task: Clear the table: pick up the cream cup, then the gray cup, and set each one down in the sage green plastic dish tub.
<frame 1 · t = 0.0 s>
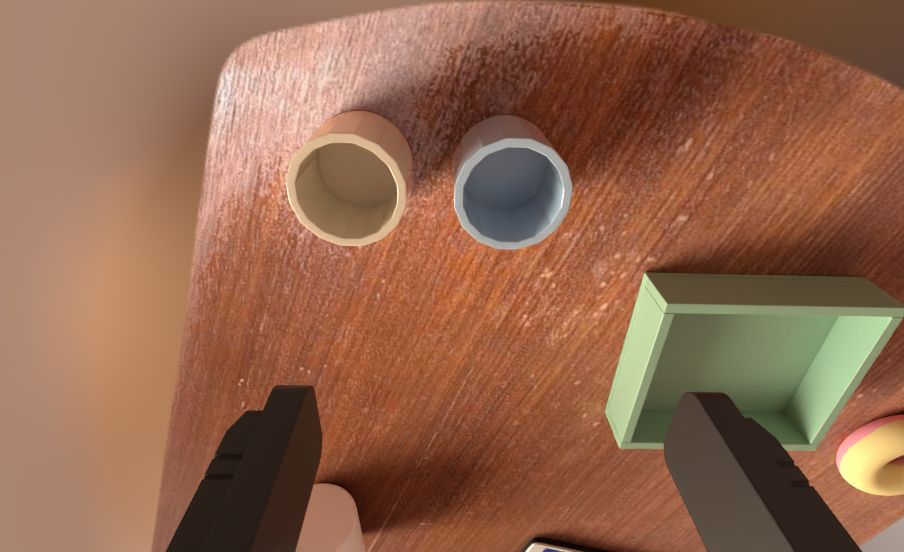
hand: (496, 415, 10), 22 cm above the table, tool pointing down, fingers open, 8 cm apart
mug: (312, 510, 49), on the table
gray cup: (502, 166, 30), on the table
cream cup: (362, 162, 29), on the table
dish tub: (721, 350, 38), on the table
donut: (881, 440, 44), on the table
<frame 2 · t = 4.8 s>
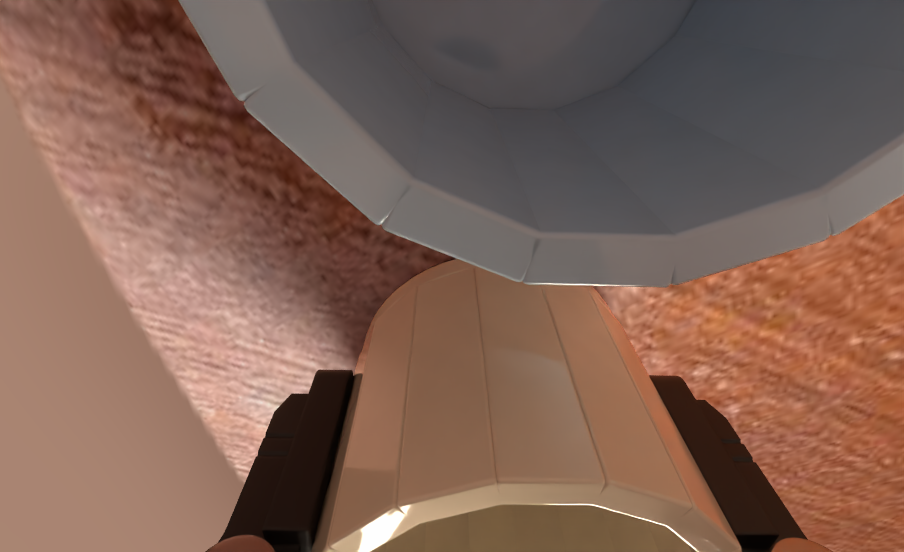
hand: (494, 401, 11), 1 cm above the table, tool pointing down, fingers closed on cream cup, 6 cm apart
cream cup: (490, 364, 12), on the table, touching gripper
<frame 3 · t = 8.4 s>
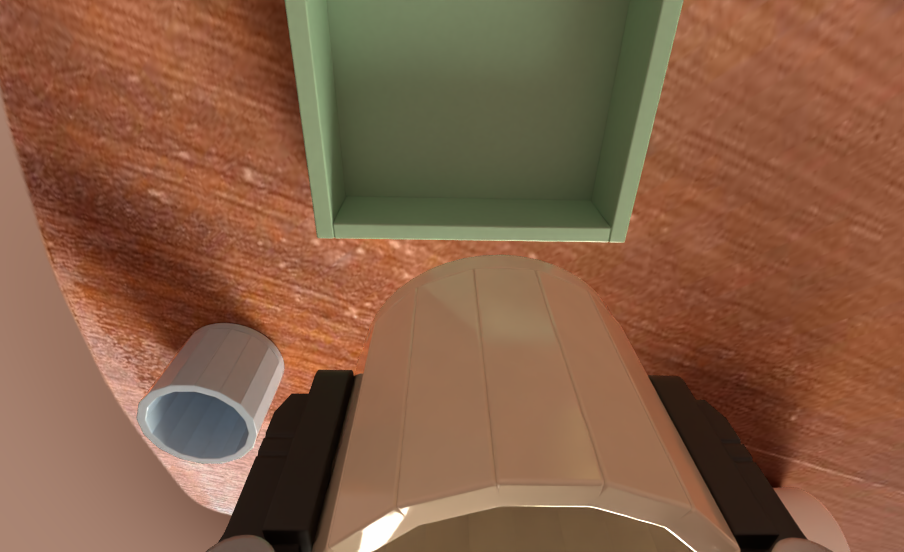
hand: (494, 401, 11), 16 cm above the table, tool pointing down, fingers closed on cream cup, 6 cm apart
mug: (714, 509, 41), on the table
gray cup: (235, 361, 31), on the table
cream cup: (490, 365, 12), point 15 cm above the table, touching gripper
dish tub: (476, 37, 21), on the table
when the fingers open (2 cm above the table, at t = 12.5 s): cream cup stays where it is, resting on dish tub.
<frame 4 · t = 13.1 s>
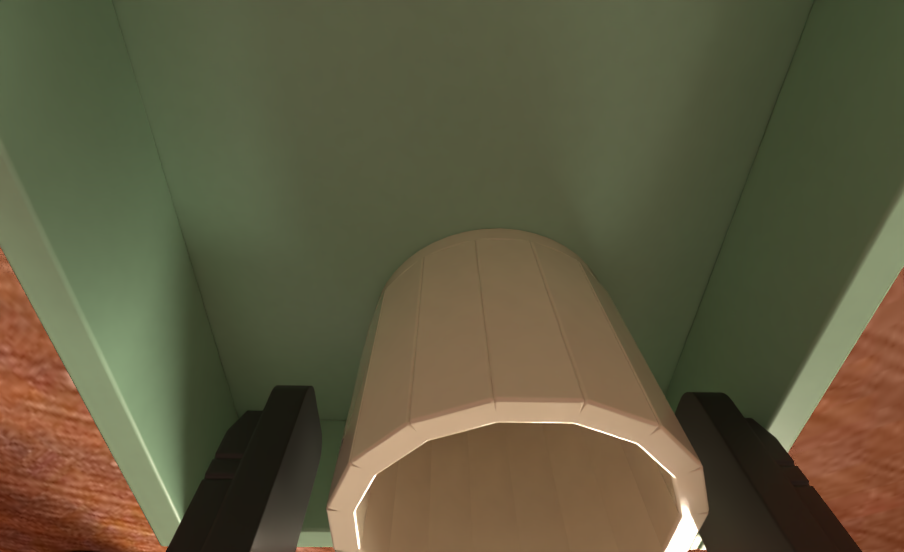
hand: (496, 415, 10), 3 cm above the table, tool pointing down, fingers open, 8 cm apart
cream cup: (490, 333, 13), point 1 cm above the table, touching dish tub
dish tub: (457, 184, 11), on the table
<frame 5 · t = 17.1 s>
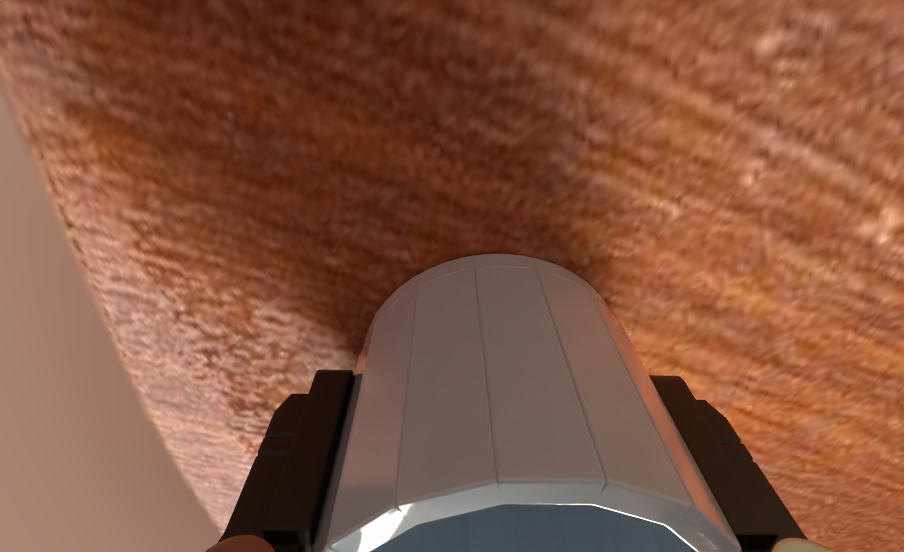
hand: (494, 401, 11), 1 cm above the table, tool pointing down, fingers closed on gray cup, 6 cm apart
gray cup: (490, 364, 12), on the table, touching gripper
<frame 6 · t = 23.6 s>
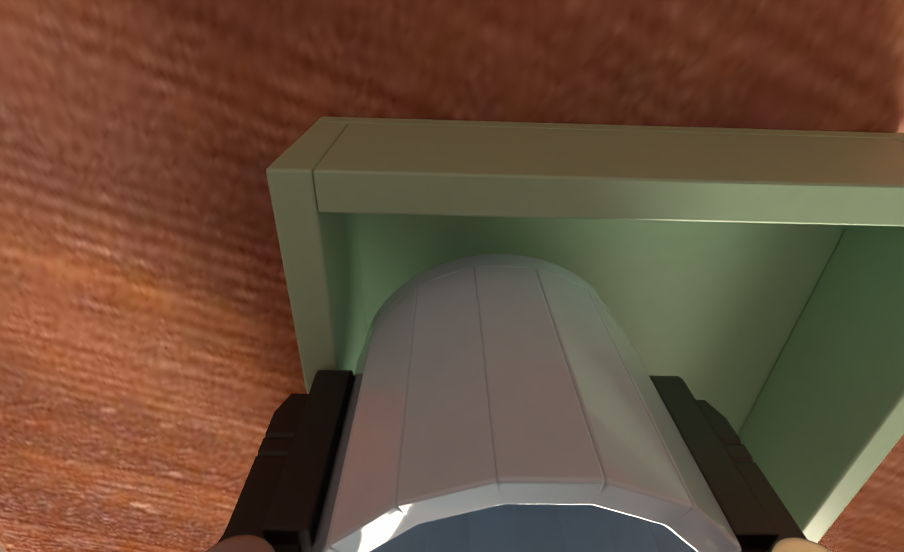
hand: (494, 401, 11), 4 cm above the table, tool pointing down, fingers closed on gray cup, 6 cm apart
gray cup: (490, 364, 12), point 3 cm above the table, touching gripper
dish tub: (564, 373, 16), on the table
when the fingers open (4 cm above the table, at t = 28.7 s): gray cup drops 3 cm, resting on dish tub.
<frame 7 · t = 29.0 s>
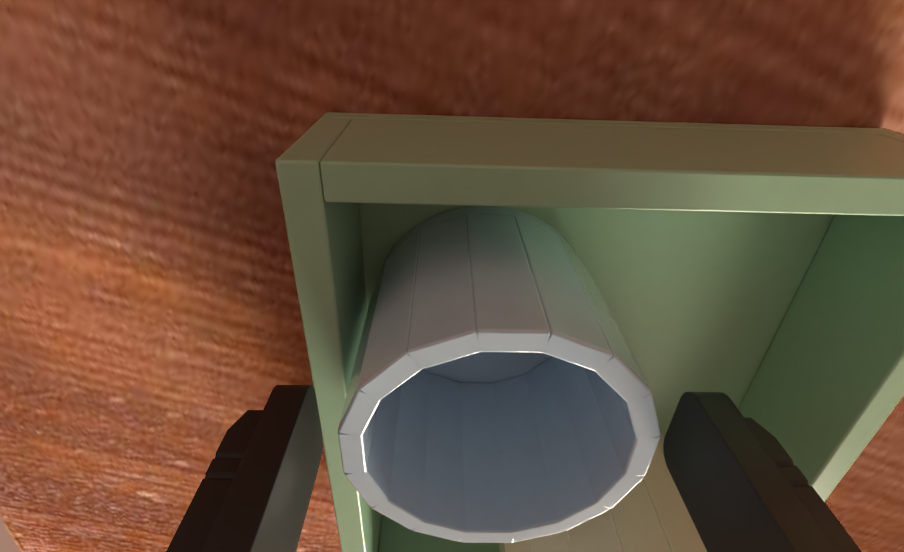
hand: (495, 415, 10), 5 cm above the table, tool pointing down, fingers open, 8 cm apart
gray cup: (480, 302, 14), point 1 cm above the table, touching dish tub
cream cup: (574, 453, 18), point 1 cm above the table, touching dish tub
dish tub: (560, 363, 16), on the table
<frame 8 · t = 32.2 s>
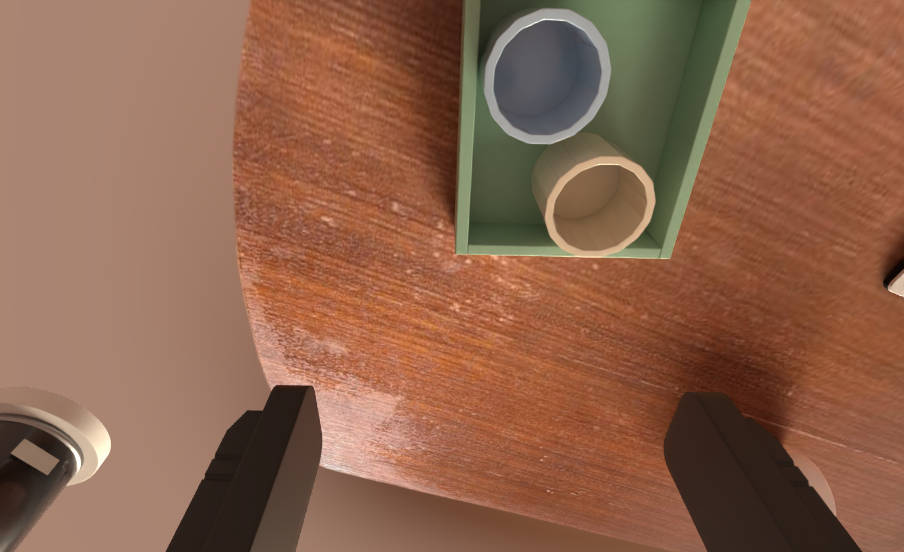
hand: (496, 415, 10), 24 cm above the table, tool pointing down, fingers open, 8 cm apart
mug: (724, 470, 50), on the table
gray cup: (530, 67, 28), point 1 cm above the table, touching dish tub
cream cup: (576, 178, 32), point 1 cm above the table, touching dish tub
dish tub: (569, 116, 30), on the table
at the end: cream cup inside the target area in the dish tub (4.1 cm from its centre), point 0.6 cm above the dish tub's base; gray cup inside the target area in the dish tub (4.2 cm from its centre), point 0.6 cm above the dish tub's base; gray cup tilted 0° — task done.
